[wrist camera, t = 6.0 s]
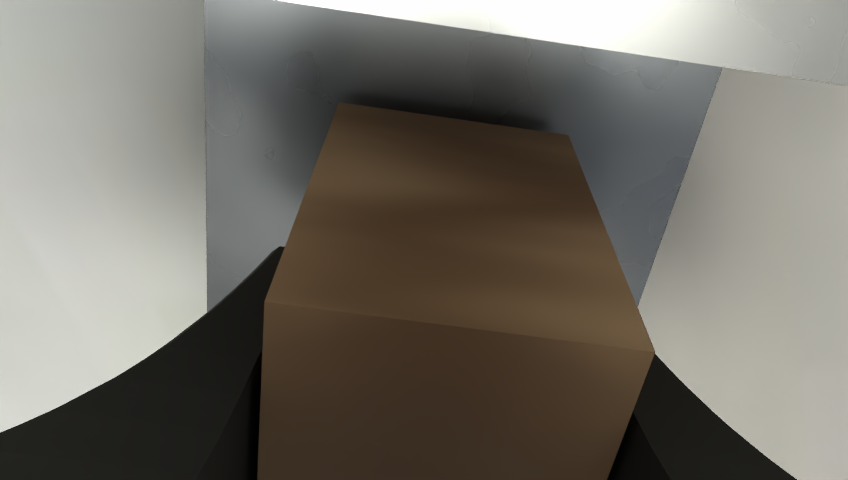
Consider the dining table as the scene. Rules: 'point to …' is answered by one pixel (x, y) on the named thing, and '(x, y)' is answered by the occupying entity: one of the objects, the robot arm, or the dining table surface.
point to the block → (447, 311)
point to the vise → (485, 94)
